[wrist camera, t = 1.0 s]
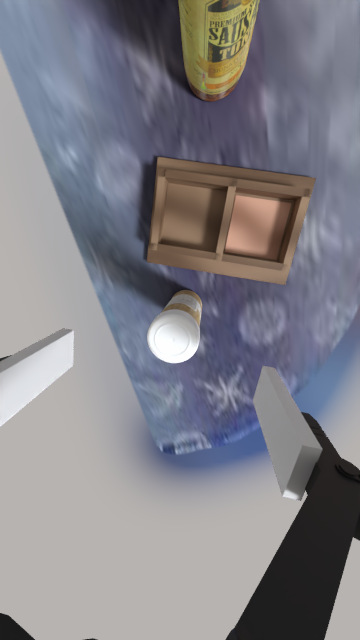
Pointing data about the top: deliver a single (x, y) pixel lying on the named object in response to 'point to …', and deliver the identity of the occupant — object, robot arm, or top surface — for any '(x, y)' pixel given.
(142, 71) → the top surface
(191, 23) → the sauce bottle
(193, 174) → the slot rack
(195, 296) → the sprinkles bottle
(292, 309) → the top surface
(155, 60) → the top surface
